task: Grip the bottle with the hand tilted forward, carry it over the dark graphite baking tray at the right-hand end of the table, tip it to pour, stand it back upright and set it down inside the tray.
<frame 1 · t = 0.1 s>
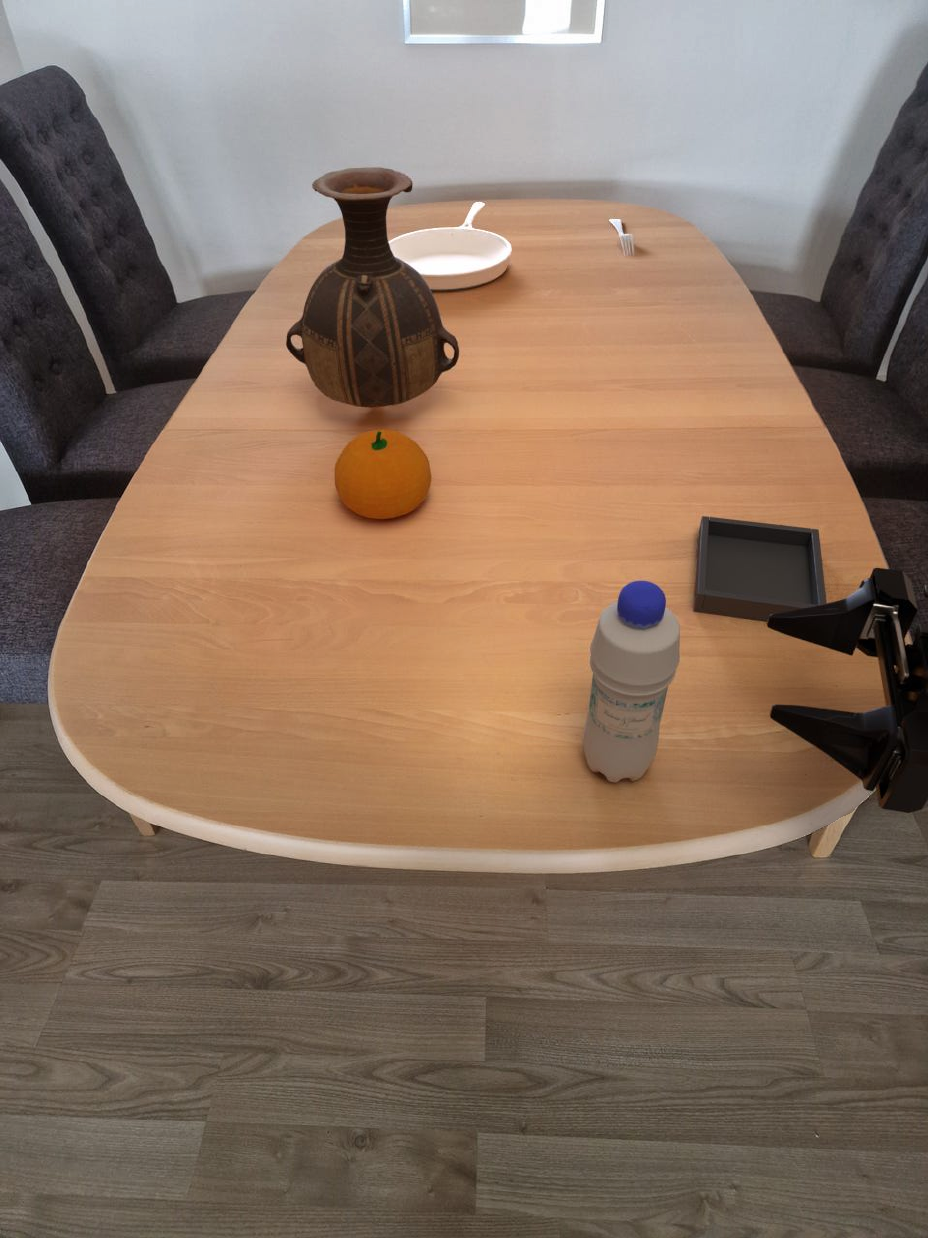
hand: (769, 663, 59), 15 cm above the table, tool horizontal, fingers open, 9 cm apart
tray: (755, 577, 88), on the table
bottle: (616, 761, 71), on the table
pan: (456, 257, 160), on the table
vase: (382, 406, 118), on the table
fork: (621, 238, 165), on the table
fruit: (386, 503, 100), on the table
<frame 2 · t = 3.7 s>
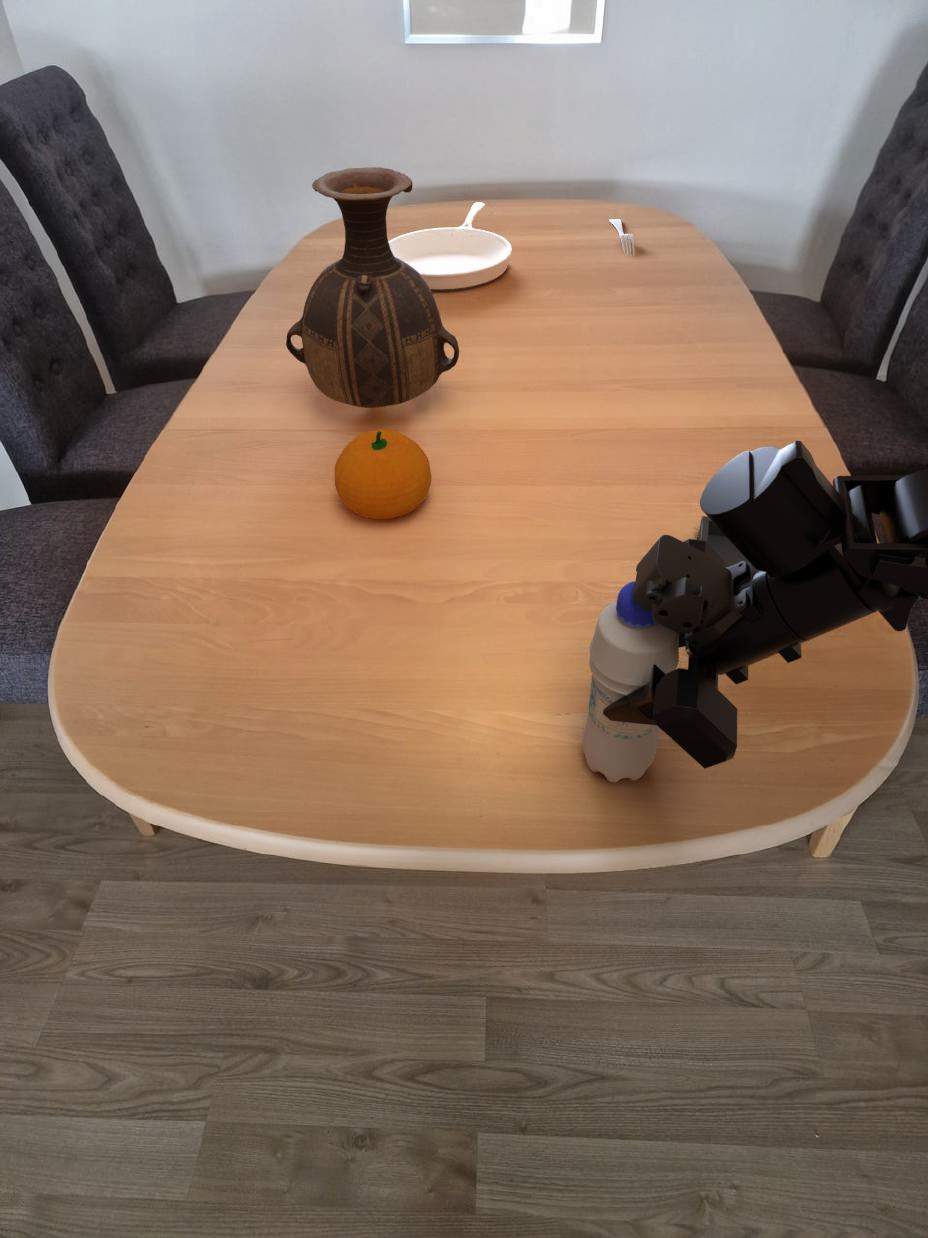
hand: (611, 684, 64), 10 cm above the table, tool tilted 45°, fingers closed on bottle, 6 cm apart
bottle: (616, 761, 71), on the table, touching gripper
everything else where it was.
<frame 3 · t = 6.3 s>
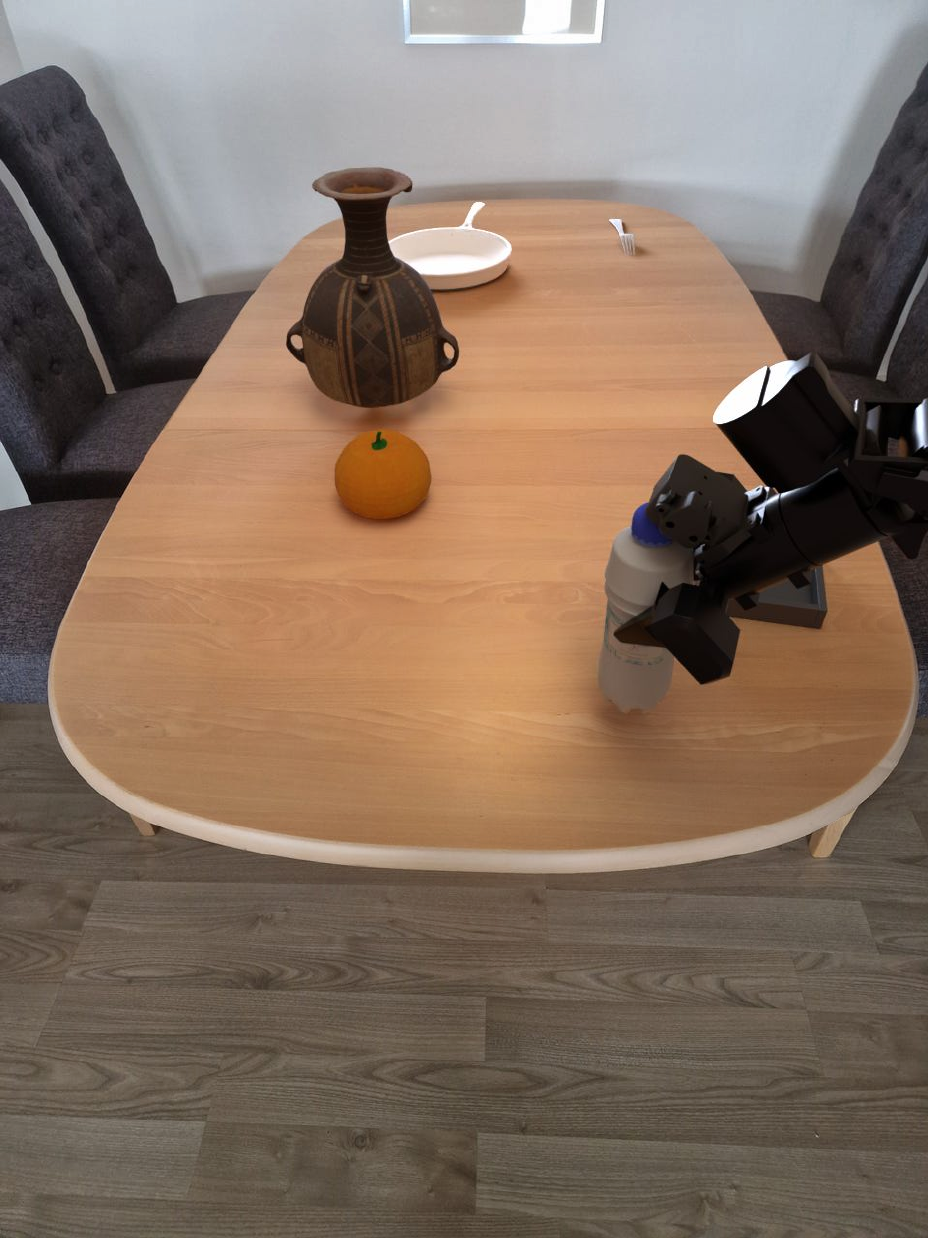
hand: (626, 610, 65), 13 cm above the table, tool tilted 45°, fingers closed on bottle, 6 cm apart
bottle: (631, 694, 72), point 3 cm above the table, touching gripper
everything else where it was.
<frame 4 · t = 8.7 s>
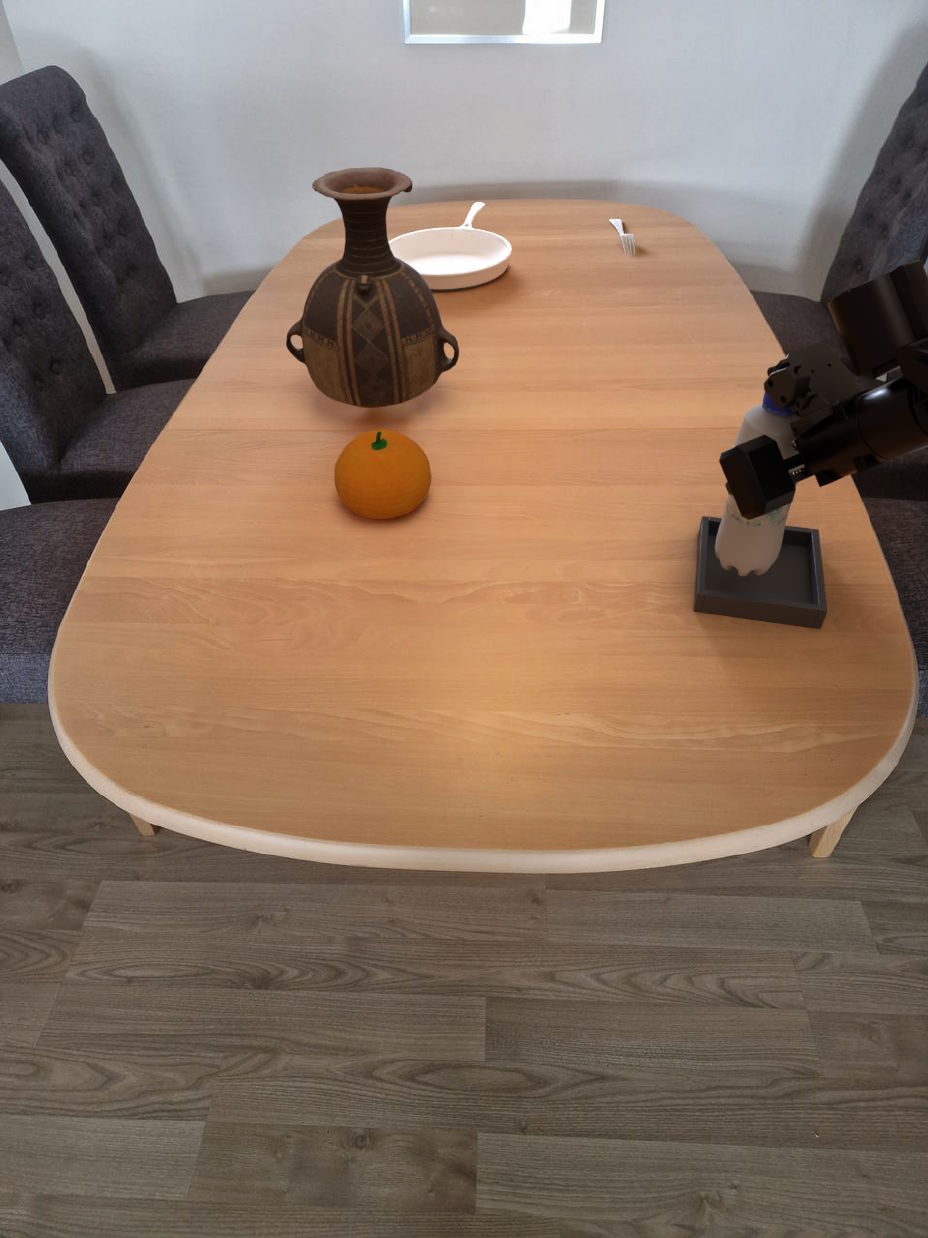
hand: (752, 478, 78), 13 cm above the table, tool tilted 45°, fingers closed on bottle, 6 cm apart
bottle: (742, 563, 84), point 3 cm above the table, touching gripper
everything else where it was.
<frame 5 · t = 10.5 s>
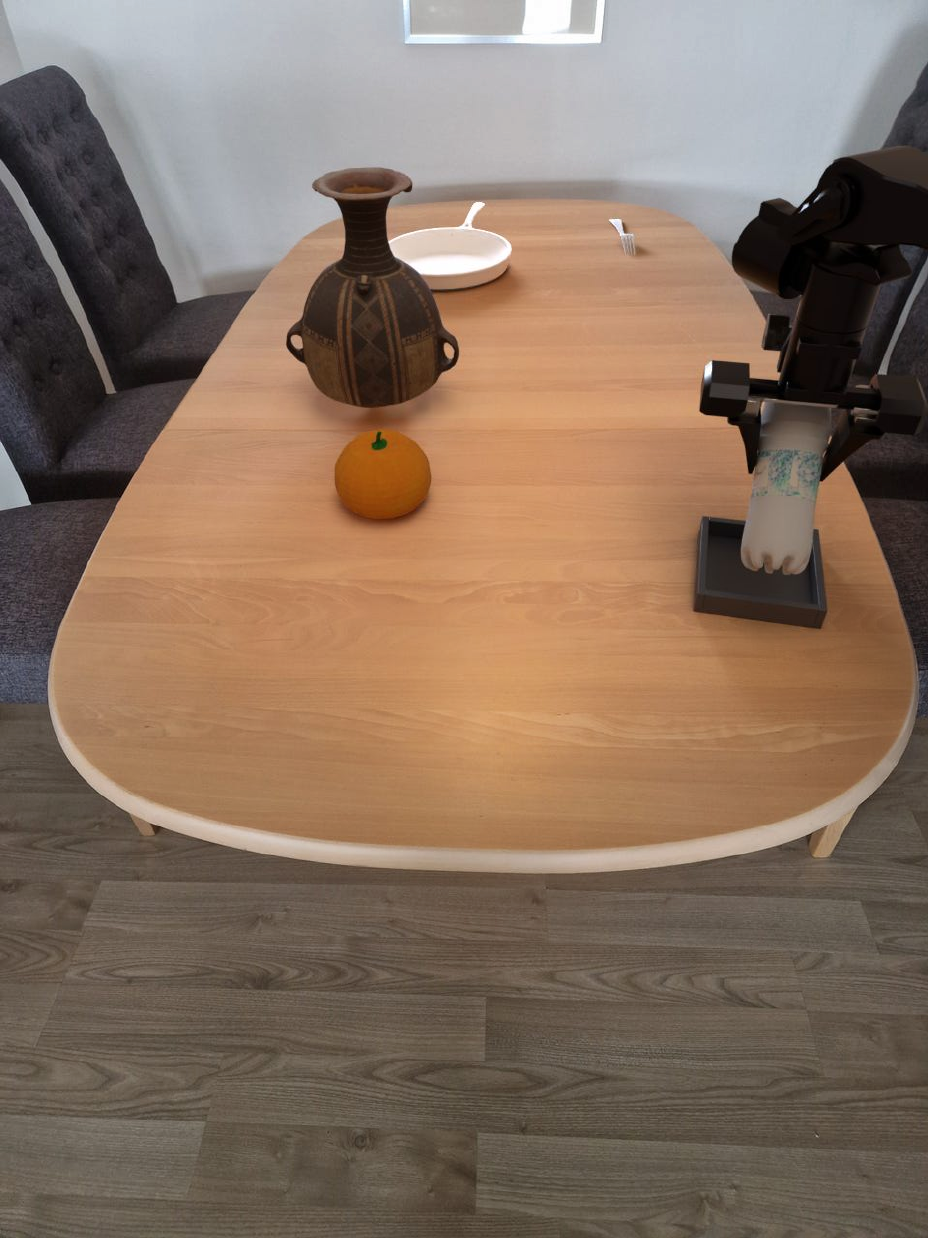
hand: (784, 475, 79), 13 cm above the table, tool pointing down, fingers closed on bottle, 6 cm apart
bottle: (771, 573, 77), point 7 cm above the table, touching gripper
everything else where it was.
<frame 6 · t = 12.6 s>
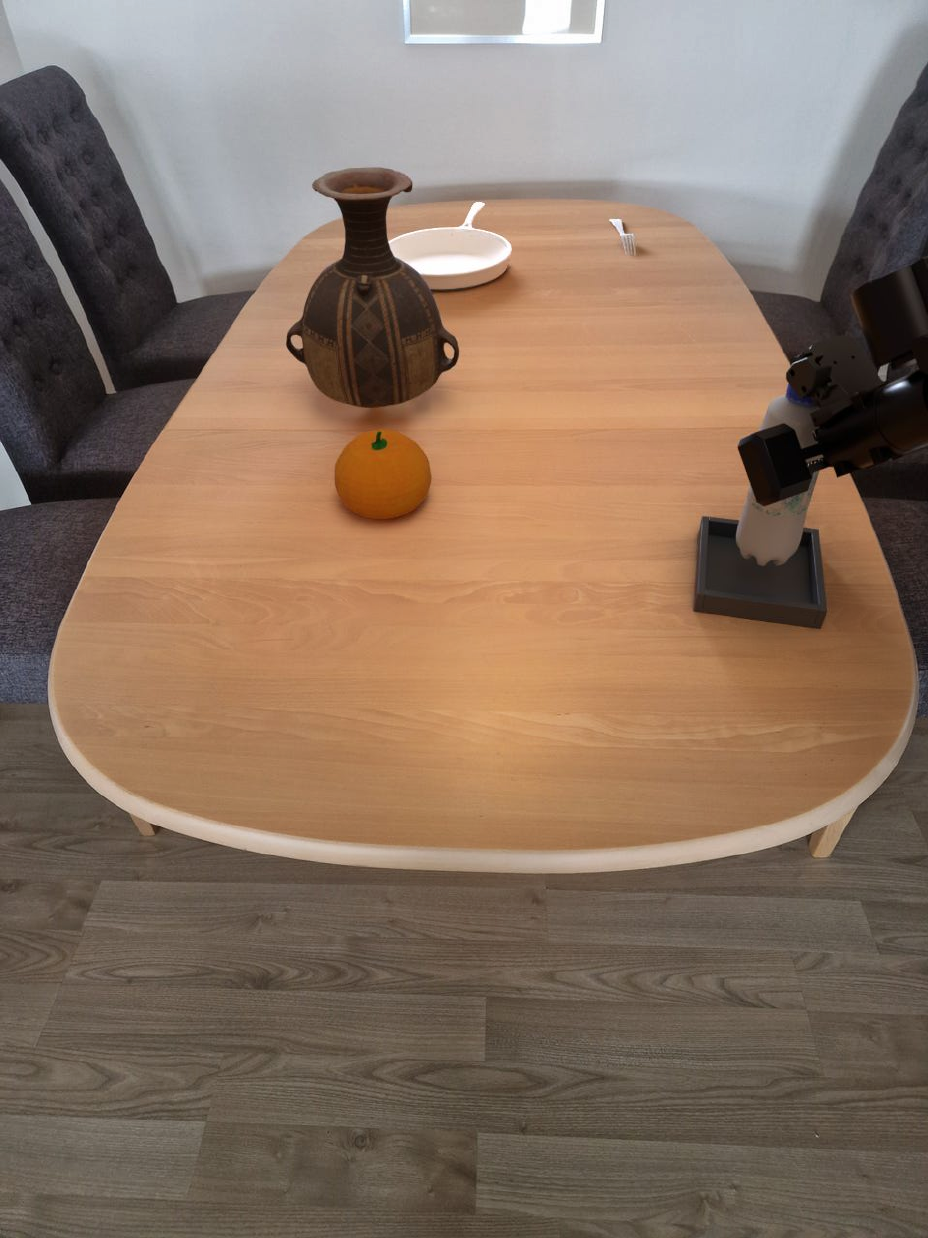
hand: (776, 468, 79), 13 cm above the table, tool tilted 45°, fingers closed on bottle, 6 cm apart
bottle: (763, 554, 85), point 3 cm above the table, touching gripper
everything else where it was.
when the fingers open (10 cm above the table, at t = 14.2 s): bottle stays where it is, resting on tray.
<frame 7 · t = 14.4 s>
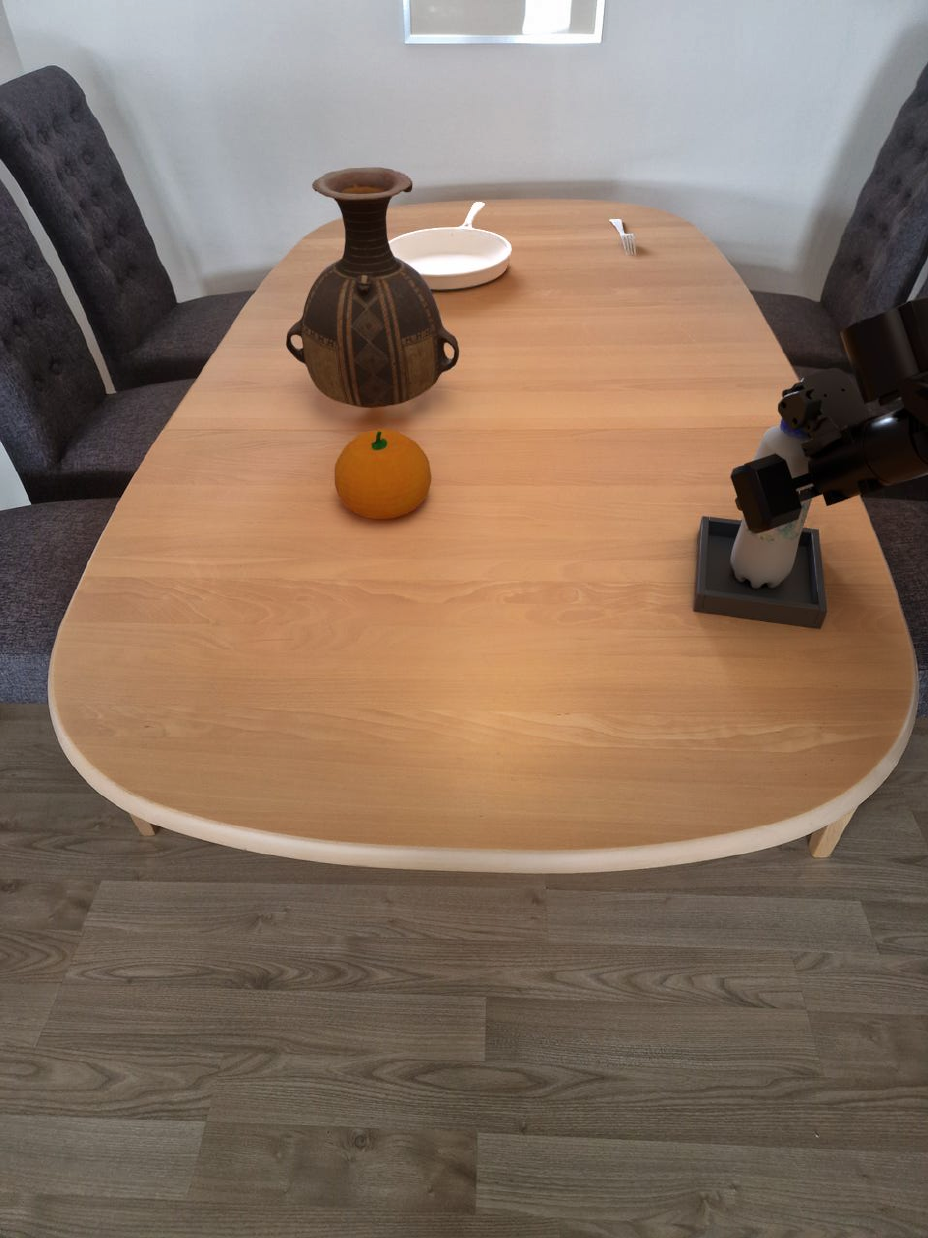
hand: (768, 493, 81), 10 cm above the table, tool tilted 45°, fingers open, 7 cm apart
bottle: (756, 576, 87), resting on tray, touching gripper
everything else where it was.
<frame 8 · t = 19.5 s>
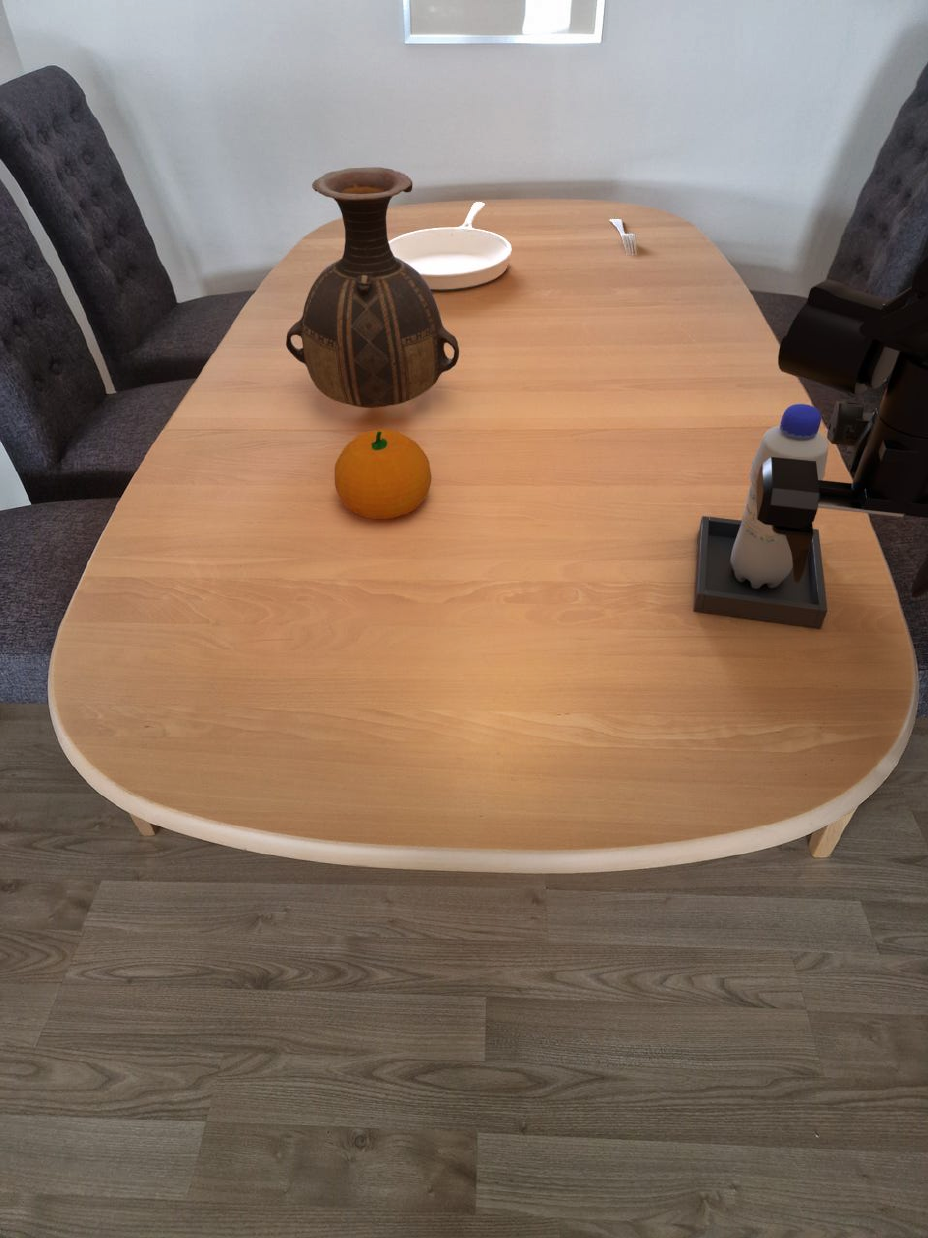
hand: (854, 586, 67), 13 cm above the table, tool pointing down, fingers open, 9 cm apart
bottle: (756, 576, 87), resting on tray
everything else where it was.
at the end: bottle inside the target area in the tray (0.2 cm from its centre), point 0.3 cm above the tray's base; bottle tilted 0°; bottle moved 29.9 cm from its start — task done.
